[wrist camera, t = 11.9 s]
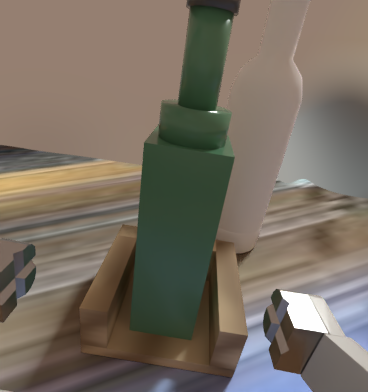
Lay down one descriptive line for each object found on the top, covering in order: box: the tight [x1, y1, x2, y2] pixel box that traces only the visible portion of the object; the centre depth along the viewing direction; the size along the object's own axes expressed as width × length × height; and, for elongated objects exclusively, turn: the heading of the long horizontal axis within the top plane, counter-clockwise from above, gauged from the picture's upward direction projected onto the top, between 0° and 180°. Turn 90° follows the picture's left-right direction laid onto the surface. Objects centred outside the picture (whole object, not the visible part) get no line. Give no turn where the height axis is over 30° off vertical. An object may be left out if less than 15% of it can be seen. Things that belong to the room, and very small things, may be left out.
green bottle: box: [129, 0, 241, 340], centre depth 19 cm, size 5×5×24 cm
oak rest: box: [79, 224, 248, 378], centre depth 25 cm, size 12×11×5 cm
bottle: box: [215, 0, 311, 253], centre depth 32 cm, size 8×8×30 cm
